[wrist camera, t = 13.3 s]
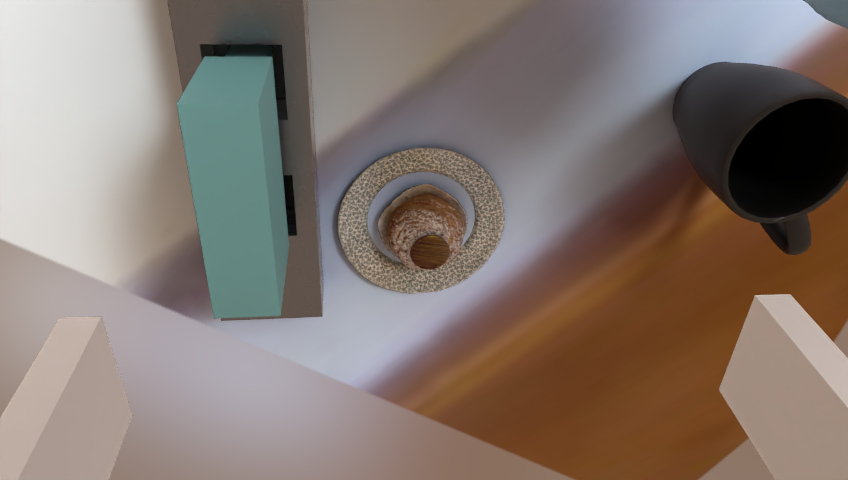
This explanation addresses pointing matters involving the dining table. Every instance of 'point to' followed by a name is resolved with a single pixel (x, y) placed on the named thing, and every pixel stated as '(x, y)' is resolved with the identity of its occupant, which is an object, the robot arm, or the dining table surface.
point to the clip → (237, 180)
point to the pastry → (421, 223)
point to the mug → (765, 144)
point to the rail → (288, 26)
